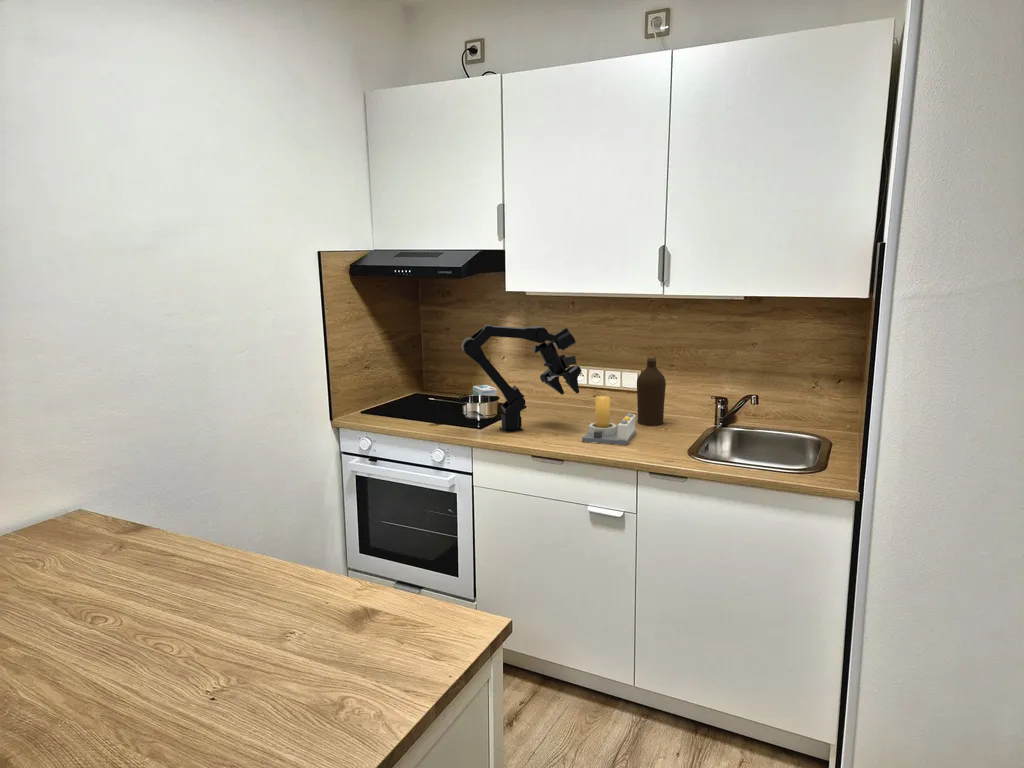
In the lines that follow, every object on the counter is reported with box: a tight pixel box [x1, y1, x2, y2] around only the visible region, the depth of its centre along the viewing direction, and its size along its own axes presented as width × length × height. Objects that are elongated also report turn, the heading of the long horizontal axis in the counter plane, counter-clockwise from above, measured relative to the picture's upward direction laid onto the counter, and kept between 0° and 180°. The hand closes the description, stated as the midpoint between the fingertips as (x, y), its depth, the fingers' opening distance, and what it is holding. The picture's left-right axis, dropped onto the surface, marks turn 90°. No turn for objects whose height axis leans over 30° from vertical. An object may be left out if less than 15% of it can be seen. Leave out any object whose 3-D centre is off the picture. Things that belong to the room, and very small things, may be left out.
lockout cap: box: [594, 395, 611, 428], centre depth 236 cm, size 5×5×12 cm
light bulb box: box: [472, 384, 498, 397], centre depth 276 cm, size 11×7×11 cm, turn 25°
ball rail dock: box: [581, 412, 637, 446], centre depth 236 cm, size 15×18×8 cm
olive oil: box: [636, 356, 667, 426], centre depth 254 cm, size 11×11×25 cm
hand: (570, 393), depth 251 cm, fingers open, 9 cm apart
